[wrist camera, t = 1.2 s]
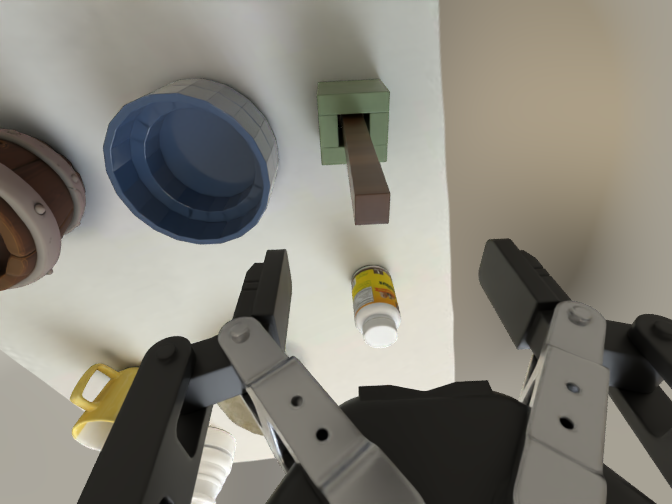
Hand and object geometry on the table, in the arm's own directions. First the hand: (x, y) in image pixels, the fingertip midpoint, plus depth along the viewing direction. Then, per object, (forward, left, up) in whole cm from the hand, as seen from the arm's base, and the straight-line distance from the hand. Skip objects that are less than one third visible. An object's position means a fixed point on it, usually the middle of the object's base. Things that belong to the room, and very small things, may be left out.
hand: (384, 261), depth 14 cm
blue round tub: (+3, -15, -24) cm, 29 cm away
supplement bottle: (+22, +2, -25) cm, 33 cm away
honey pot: (+66, -33, -25) cm, 78 cm away
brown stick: (0, 0, -24) cm, 24 cm away
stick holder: (0, 0, -24) cm, 24 cm away
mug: (+40, -38, -25) cm, 60 cm away
